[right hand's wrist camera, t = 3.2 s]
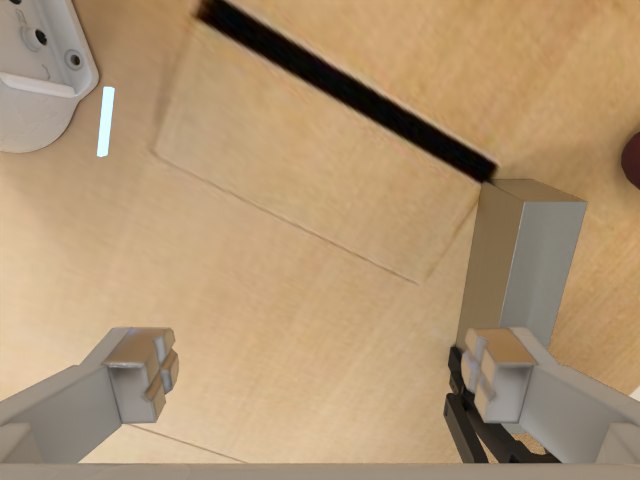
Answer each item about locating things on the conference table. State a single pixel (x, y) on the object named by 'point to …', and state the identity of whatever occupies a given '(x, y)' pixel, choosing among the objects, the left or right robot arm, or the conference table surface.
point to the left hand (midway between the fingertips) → (476, 356)
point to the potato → (632, 160)
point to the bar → (519, 259)
